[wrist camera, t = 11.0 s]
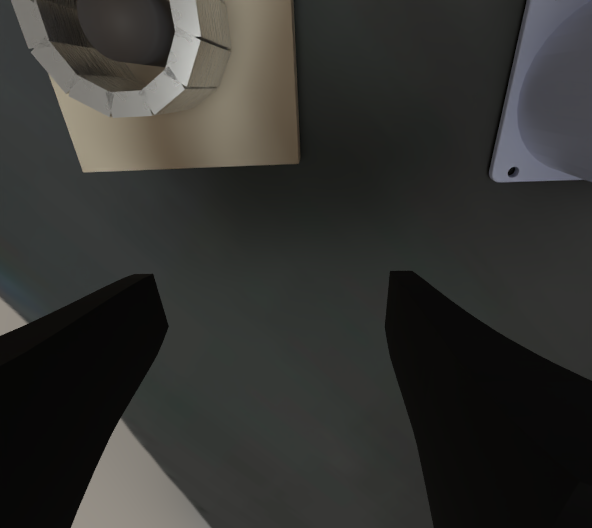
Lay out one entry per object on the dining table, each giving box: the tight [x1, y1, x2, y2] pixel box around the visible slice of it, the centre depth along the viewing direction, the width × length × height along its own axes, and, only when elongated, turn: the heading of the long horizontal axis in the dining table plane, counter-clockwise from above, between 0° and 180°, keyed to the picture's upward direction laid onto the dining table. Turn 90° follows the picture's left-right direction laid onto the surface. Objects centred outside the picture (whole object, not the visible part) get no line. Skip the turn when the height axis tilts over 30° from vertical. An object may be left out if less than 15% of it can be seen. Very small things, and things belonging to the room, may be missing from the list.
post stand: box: [49, 0, 301, 172], centre depth 13 cm, size 11×11×5 cm
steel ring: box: [11, 0, 232, 118], centre depth 12 cm, size 6×6×4 cm
